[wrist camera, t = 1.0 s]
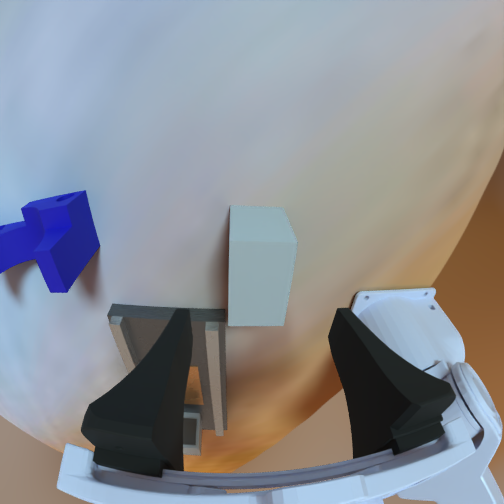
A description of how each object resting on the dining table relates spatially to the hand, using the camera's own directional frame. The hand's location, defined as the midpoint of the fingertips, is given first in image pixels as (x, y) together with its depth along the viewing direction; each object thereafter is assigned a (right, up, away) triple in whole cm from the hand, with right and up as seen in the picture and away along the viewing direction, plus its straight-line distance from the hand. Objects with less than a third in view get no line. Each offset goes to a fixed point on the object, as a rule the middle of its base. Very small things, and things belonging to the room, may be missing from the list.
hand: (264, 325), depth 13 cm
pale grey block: (0, +4, +7) cm, 8 cm away
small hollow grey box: (-9, -17, +17) cm, 26 cm away
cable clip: (-18, +6, +5) cm, 20 cm away
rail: (-8, -11, +15) cm, 20 cm away
